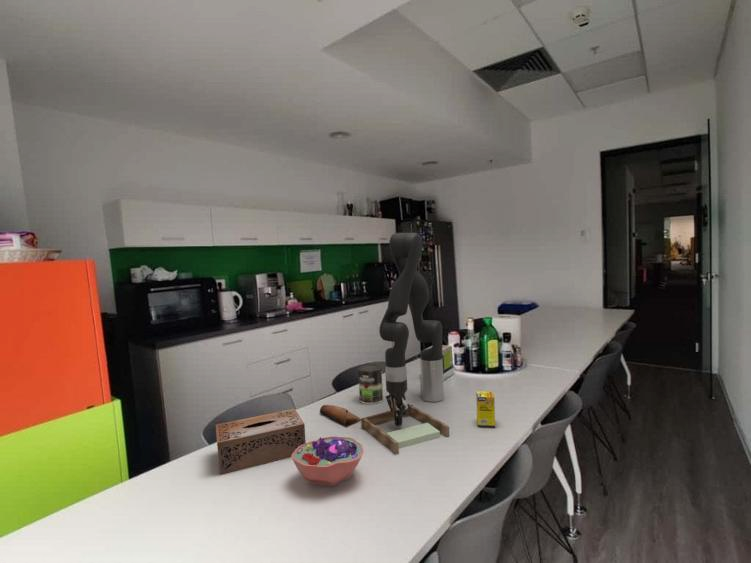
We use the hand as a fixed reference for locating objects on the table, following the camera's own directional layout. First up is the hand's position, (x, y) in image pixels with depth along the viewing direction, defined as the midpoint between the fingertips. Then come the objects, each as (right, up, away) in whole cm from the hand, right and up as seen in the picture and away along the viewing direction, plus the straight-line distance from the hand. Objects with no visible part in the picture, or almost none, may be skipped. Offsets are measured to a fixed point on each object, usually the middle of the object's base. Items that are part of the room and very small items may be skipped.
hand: (398, 425), depth 141 cm
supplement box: (+31, 0, 0) cm, 31 cm away
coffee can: (-10, 0, +29) cm, 30 cm away
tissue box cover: (-45, -5, -13) cm, 47 cm away
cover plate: (+5, -2, -8) cm, 9 cm away
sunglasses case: (-22, -2, +12) cm, 25 cm away
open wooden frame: (+2, -1, -4) cm, 4 cm away
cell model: (-21, -5, -30) cm, 37 cm away
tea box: (+23, +4, +54) cm, 59 cm away
